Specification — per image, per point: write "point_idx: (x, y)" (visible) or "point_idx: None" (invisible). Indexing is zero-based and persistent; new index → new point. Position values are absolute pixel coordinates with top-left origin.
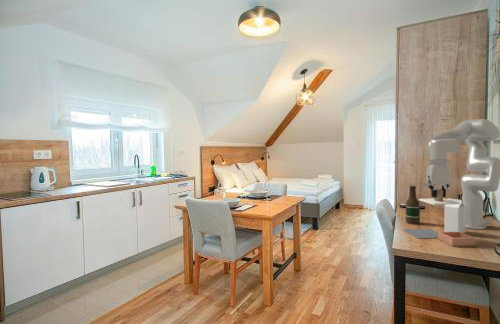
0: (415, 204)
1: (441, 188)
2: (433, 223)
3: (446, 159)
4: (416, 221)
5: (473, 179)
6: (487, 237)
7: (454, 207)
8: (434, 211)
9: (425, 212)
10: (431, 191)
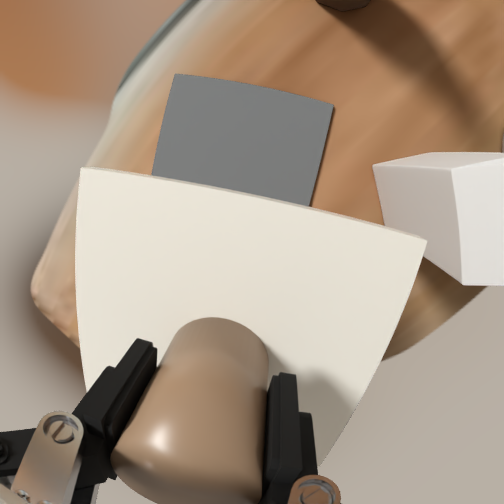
0: None
1: (293, 487)
2: (434, 37)
3: None
4: (340, 3)
5: None
6: (451, 294)
7: (460, 256)
8: None
9: None
10: (81, 405)
